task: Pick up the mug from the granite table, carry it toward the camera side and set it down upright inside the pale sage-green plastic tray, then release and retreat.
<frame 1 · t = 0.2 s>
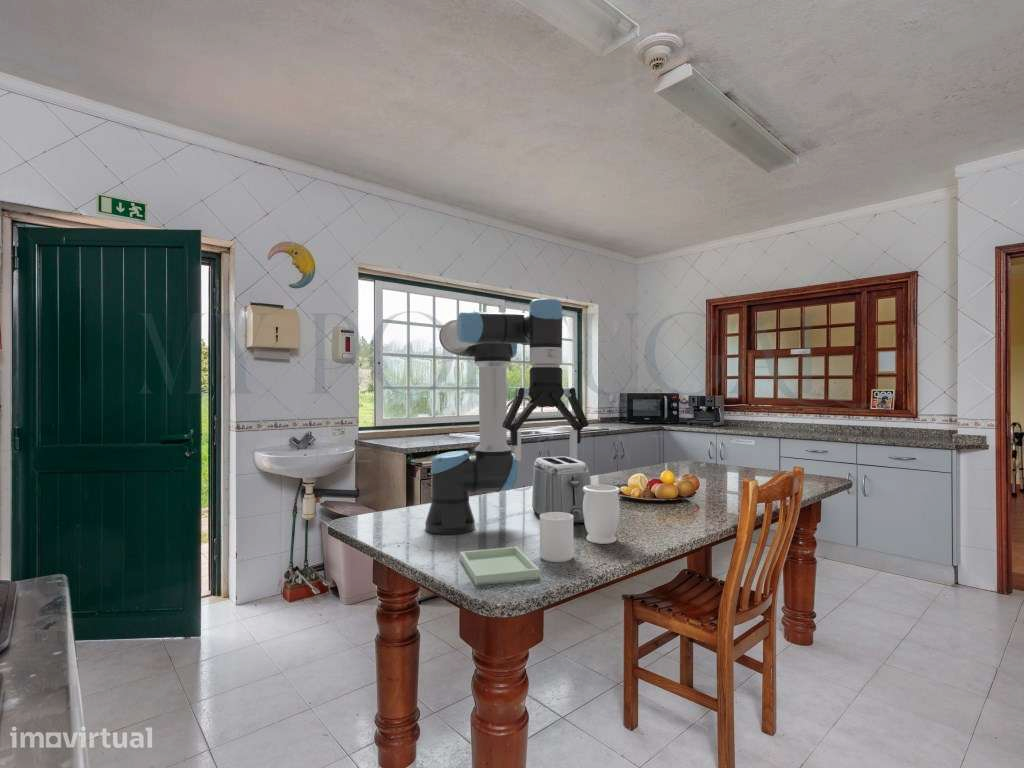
hand: (546, 459, 125), 27 cm above the table, fingers open, 13 cm apart
mug: (553, 556, 141), on the table
jar: (601, 540, 155), on the table
toaster: (560, 517, 182), on the table
tray: (498, 569, 130), on the table
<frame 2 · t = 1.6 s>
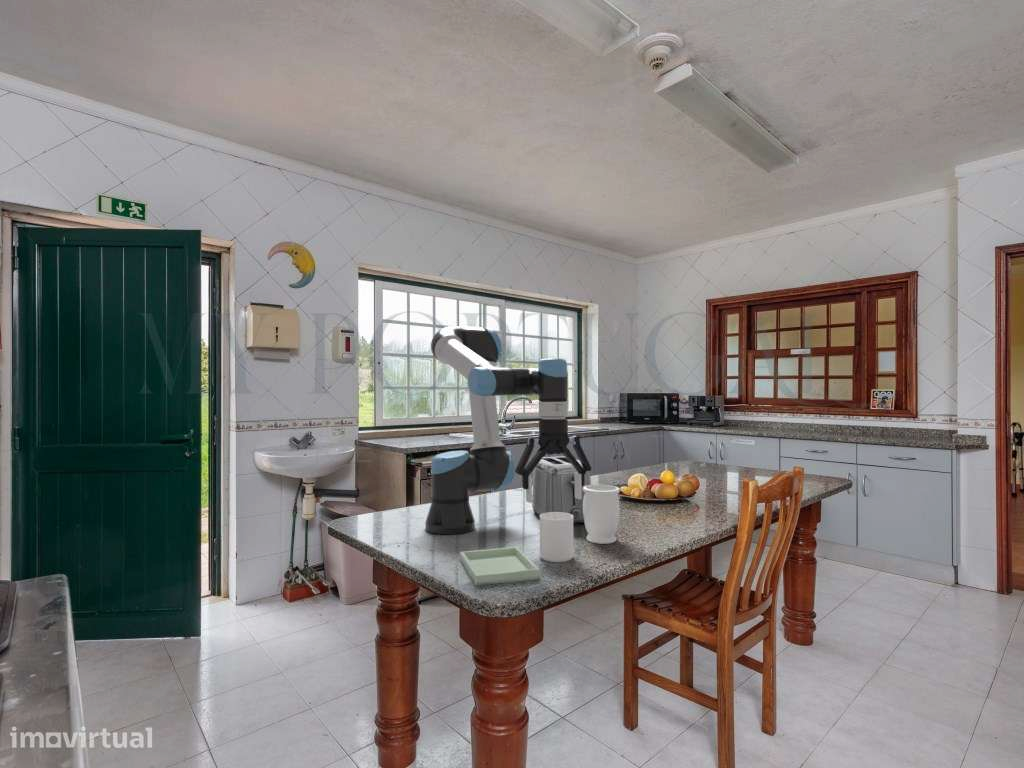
hand: (553, 500, 141), 14 cm above the table, fingers open, 13 cm apart
nothing on the table moved.
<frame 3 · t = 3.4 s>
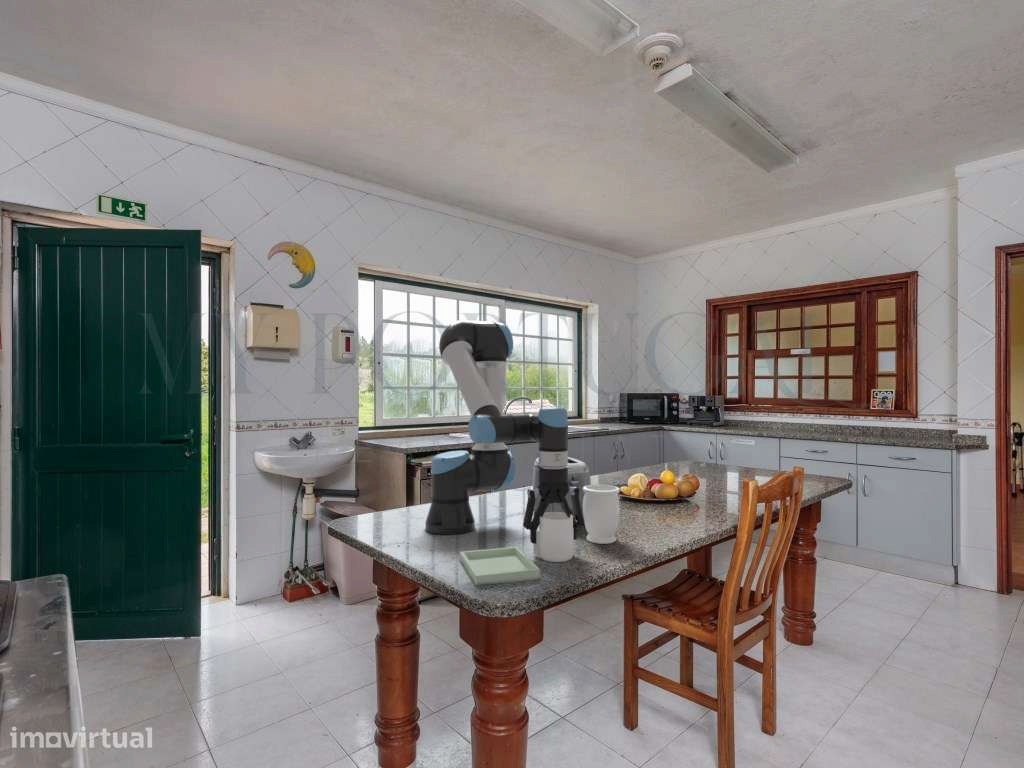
hand: (553, 553, 141), 0 cm above the table, fingers closed on mug, 9 cm apart
mug: (552, 556, 141), on the table, touching gripper
everything else where it was.
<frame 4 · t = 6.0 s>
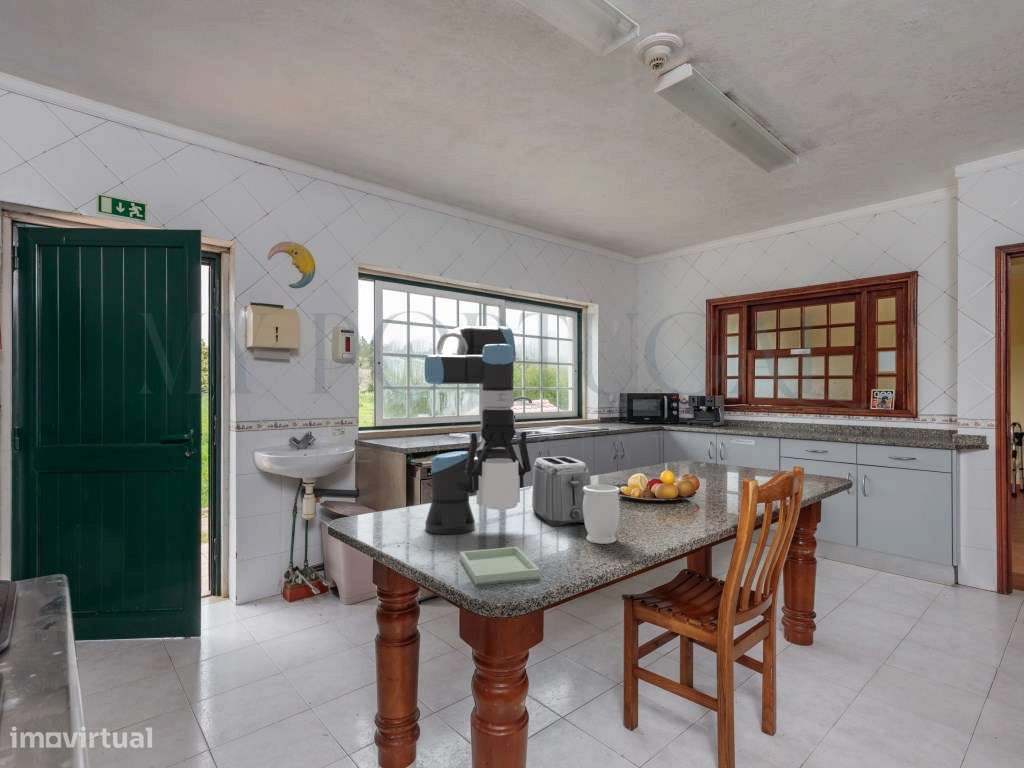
hand: (498, 502, 130), 16 cm above the table, fingers closed on mug, 9 cm apart
mug: (497, 505, 130), point 15 cm above the table, touching gripper
everything else where it was.
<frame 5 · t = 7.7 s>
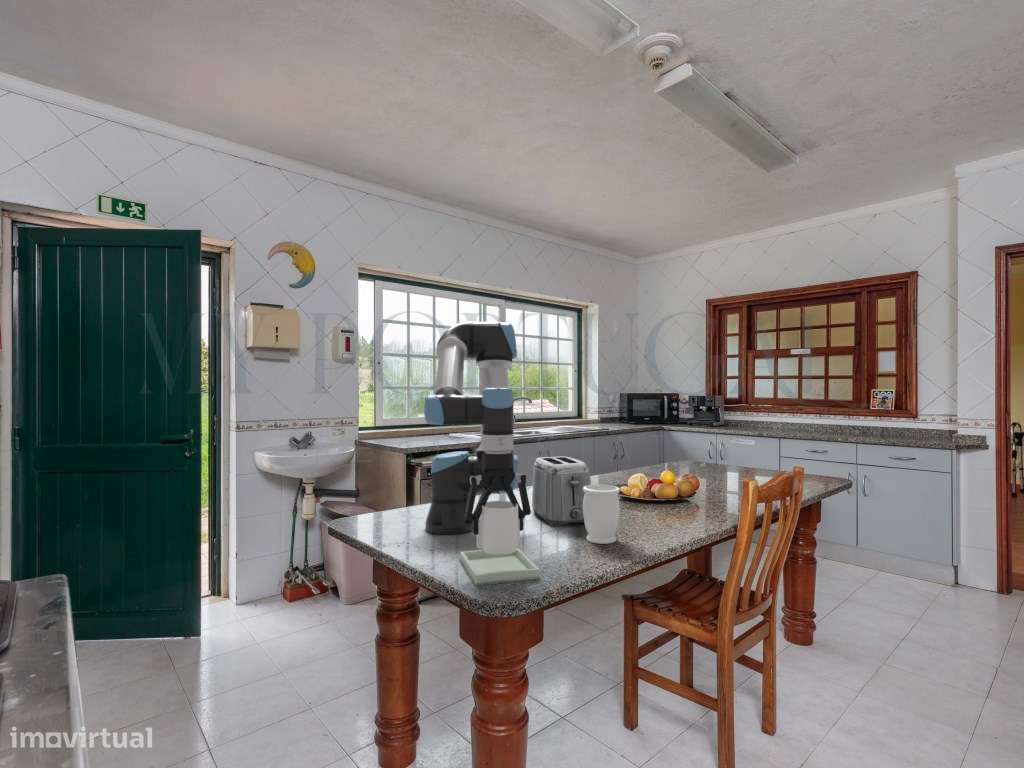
hand: (498, 545, 130), 6 cm above the table, fingers closed on mug, 9 cm apart
mug: (497, 548, 130), point 5 cm above the table, touching gripper
everything else where it was.
when the fingers open (3 cm above the table, at t = 8.8 s): mug drops 2 cm, resting on tray.
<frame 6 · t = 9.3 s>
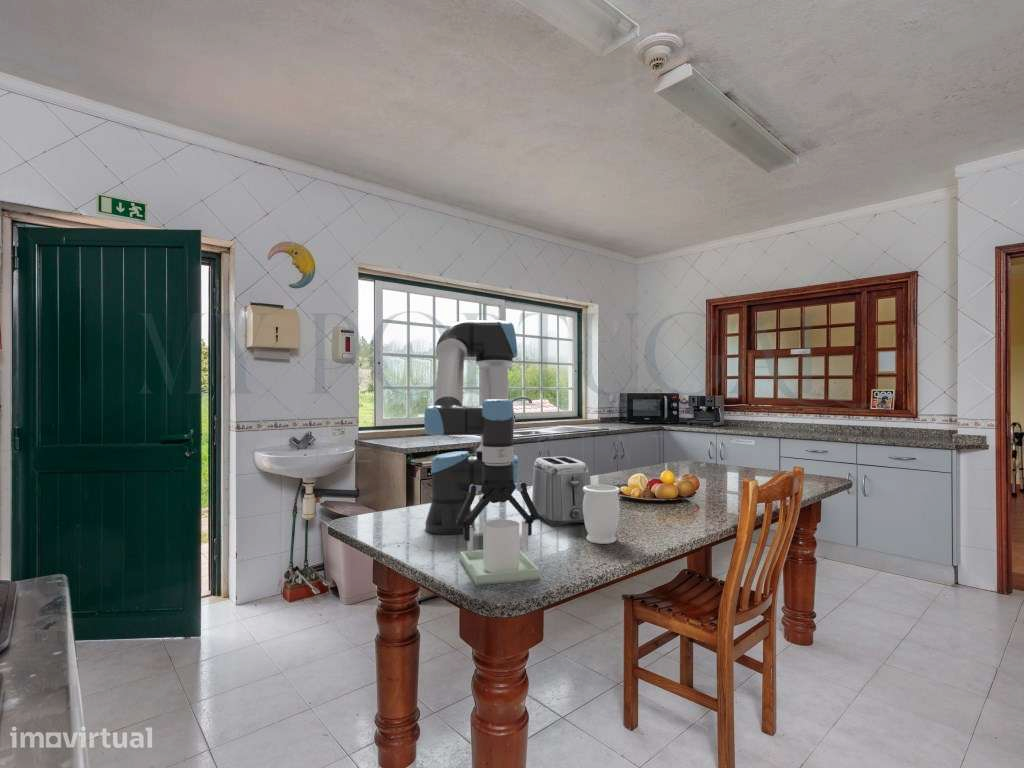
hand: (498, 551, 130), 4 cm above the table, fingers open, 13 cm apart
mug: (498, 567, 130), resting on tray
everything else where it was.
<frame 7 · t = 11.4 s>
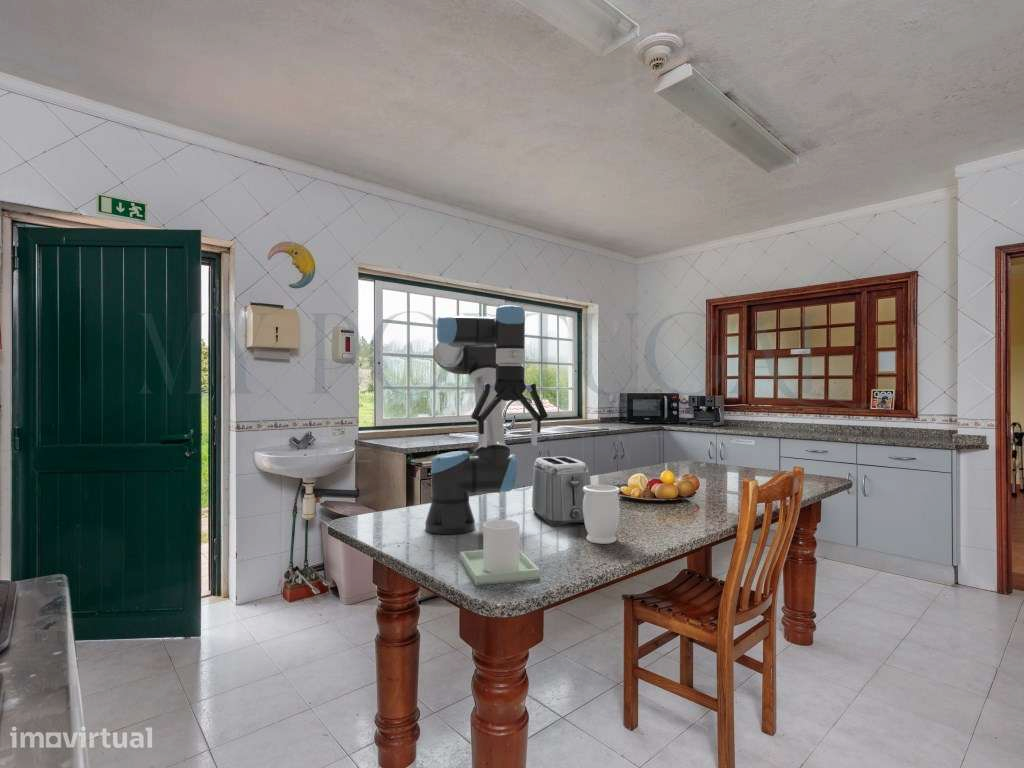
hand: (509, 445, 143), 28 cm above the table, fingers open, 13 cm apart
nothing on the table moved.
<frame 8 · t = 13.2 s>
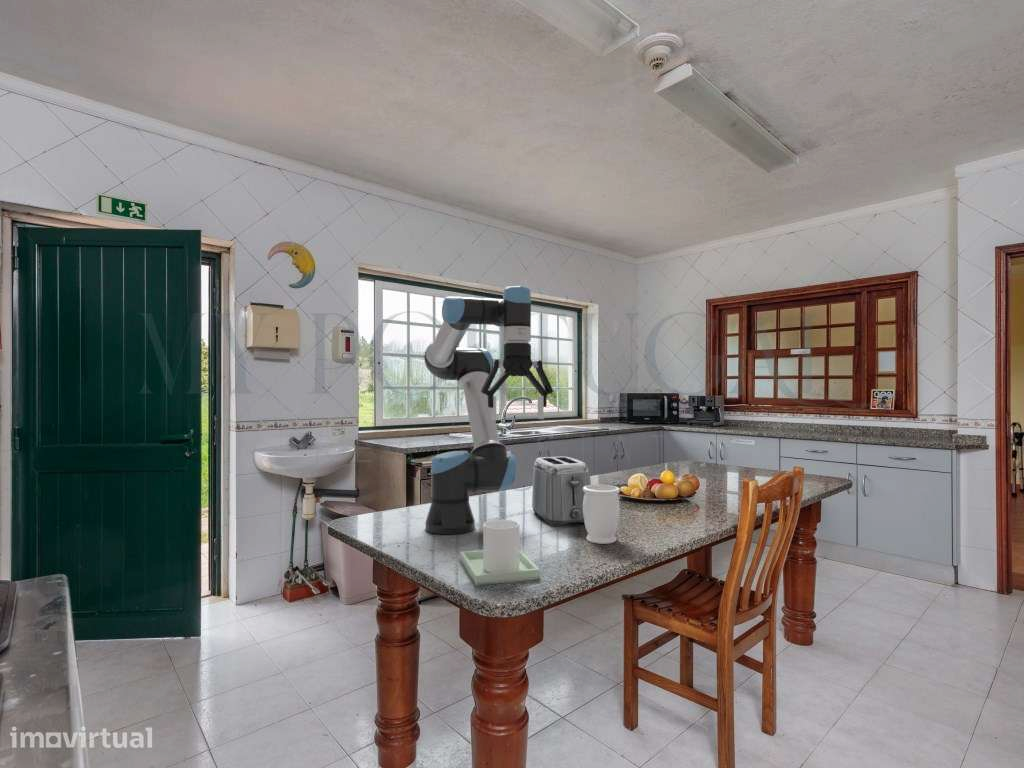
hand: (517, 419, 151), 35 cm above the table, fingers open, 13 cm apart
nothing on the table moved.
at the end: mug inside the target area on the tray (0.1 cm from its centre), point 0.4 cm above the tray's base; mug tilted 0°; the gripper is holding nothing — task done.
